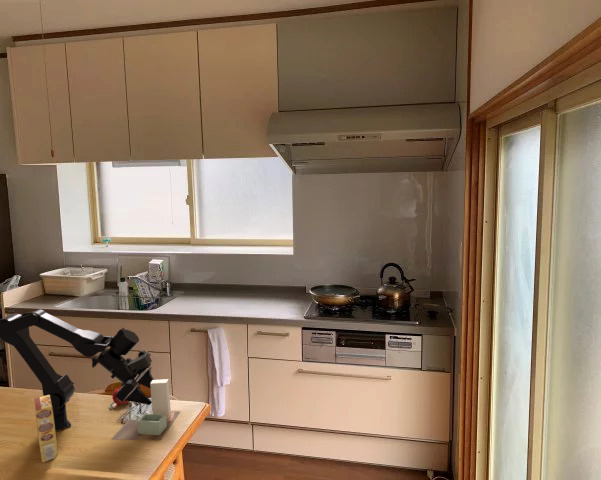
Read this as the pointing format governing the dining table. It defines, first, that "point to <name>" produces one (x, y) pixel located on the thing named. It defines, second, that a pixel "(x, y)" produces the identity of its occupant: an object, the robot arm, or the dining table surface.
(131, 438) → the walnut board
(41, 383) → the robot arm
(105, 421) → the dining table surface
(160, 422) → the slot box
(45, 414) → the candy box
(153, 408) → the tall beige block
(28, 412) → the dining table surface
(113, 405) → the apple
